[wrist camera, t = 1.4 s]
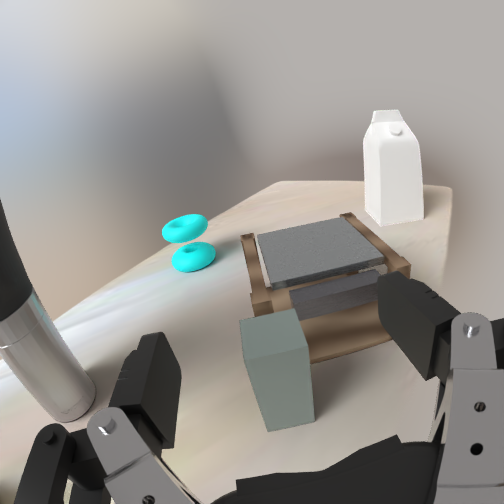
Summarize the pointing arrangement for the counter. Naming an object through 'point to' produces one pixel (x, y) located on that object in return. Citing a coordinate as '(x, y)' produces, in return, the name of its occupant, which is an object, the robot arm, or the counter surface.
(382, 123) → the milk
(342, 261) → the trapdoor
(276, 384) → the soapstone block
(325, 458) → the counter surface
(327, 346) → the frame
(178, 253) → the donuts
